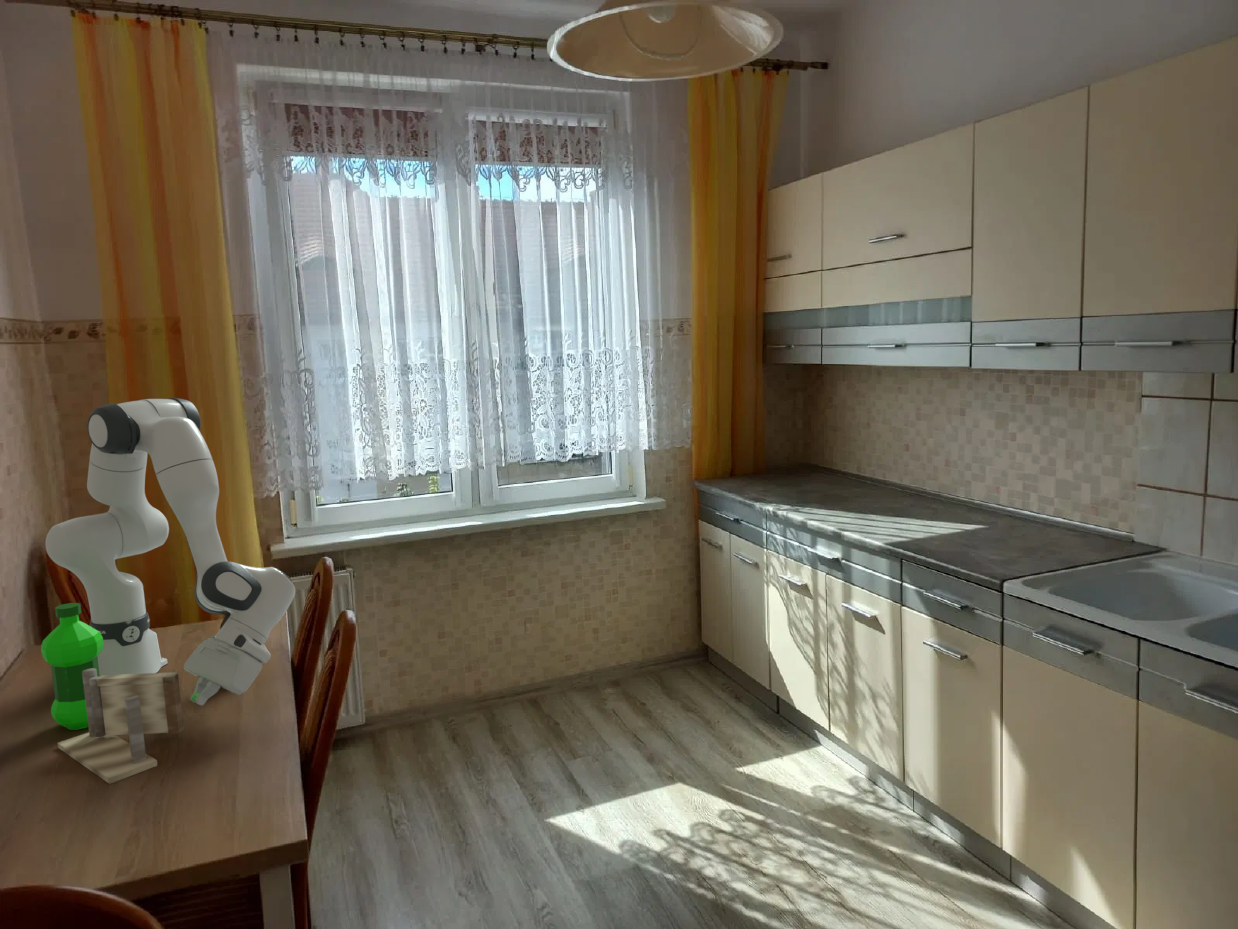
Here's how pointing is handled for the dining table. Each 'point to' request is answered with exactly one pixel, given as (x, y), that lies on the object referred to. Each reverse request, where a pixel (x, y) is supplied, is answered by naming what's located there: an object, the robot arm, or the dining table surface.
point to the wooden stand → (110, 743)
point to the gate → (155, 702)
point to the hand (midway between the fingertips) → (195, 703)
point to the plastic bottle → (71, 664)
